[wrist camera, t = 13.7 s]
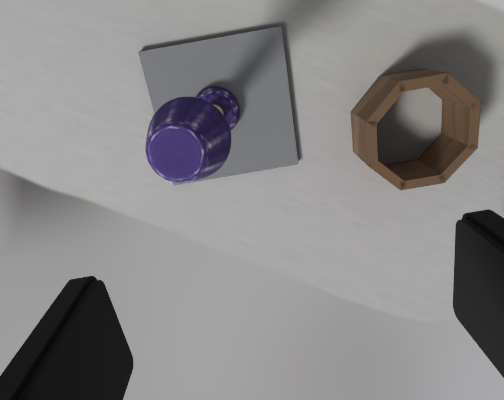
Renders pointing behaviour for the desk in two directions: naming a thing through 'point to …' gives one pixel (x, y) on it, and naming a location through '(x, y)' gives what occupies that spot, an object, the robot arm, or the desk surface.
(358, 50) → the desk surface
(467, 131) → the holder ring
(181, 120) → the toy lamp
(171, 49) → the mat
